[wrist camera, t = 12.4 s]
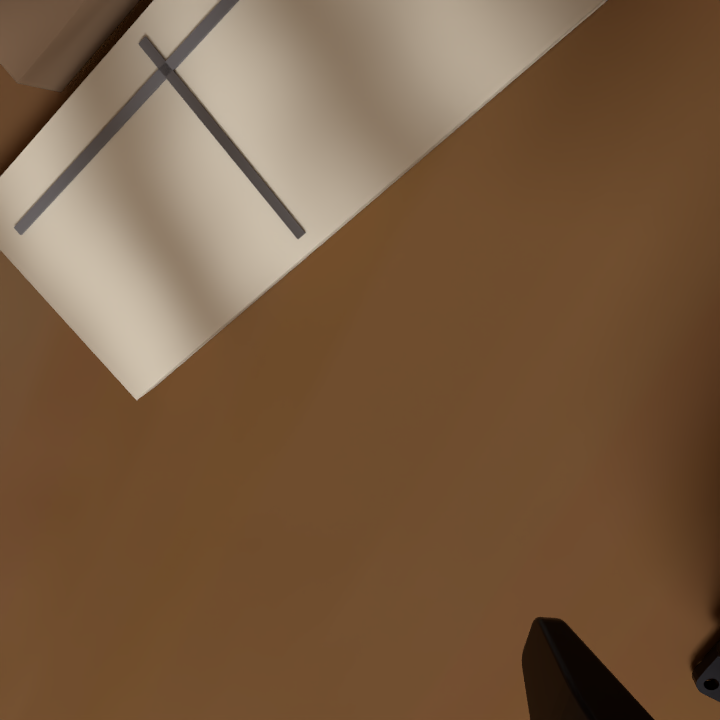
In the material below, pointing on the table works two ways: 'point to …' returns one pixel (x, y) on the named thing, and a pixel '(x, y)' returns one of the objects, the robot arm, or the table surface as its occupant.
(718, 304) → the table surface
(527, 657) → the robot arm
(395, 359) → the table surface
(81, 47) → the square column stand
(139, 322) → the ash board
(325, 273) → the table surface
